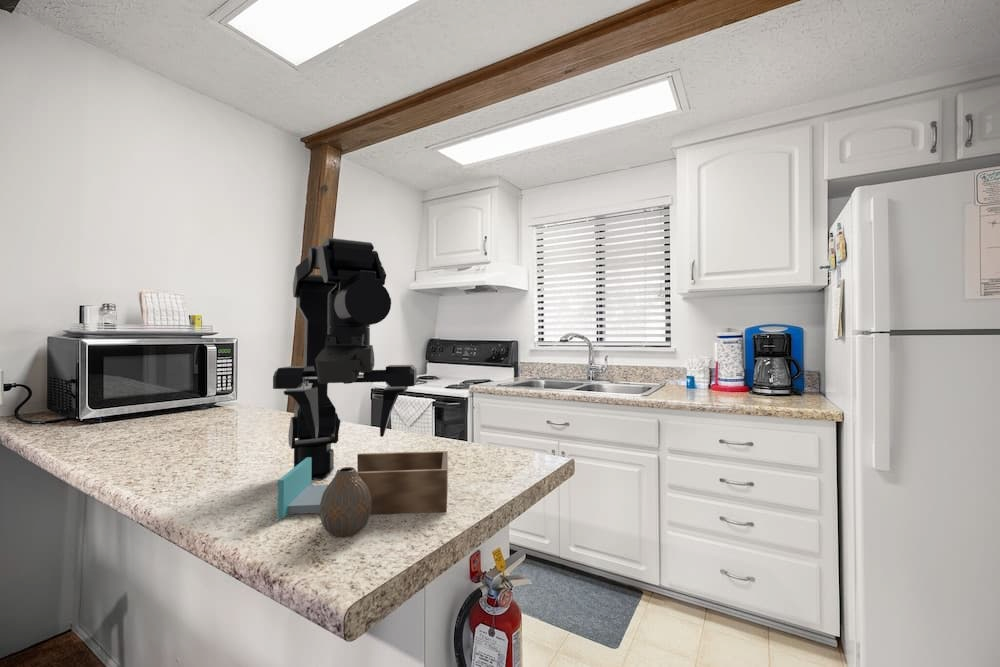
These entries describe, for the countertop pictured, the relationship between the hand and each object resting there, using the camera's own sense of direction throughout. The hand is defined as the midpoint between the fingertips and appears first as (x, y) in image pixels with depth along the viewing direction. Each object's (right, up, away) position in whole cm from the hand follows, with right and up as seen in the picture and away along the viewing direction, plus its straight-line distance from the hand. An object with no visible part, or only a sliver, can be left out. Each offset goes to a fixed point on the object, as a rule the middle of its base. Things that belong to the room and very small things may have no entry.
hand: (348, 437), depth 62 cm
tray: (-5, -13, +11) cm, 17 cm away
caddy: (+4, -13, +12) cm, 18 cm away
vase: (0, -13, 0) cm, 13 cm away
